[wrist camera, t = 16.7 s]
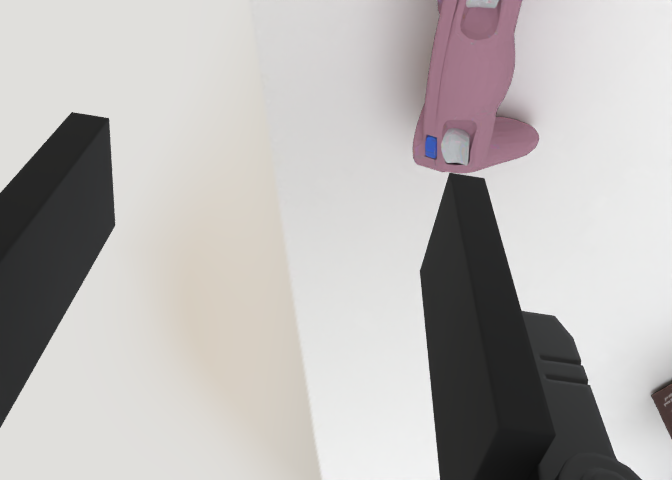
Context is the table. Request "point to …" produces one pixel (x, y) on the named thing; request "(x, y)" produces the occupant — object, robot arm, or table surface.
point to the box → (664, 406)
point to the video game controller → (471, 90)
